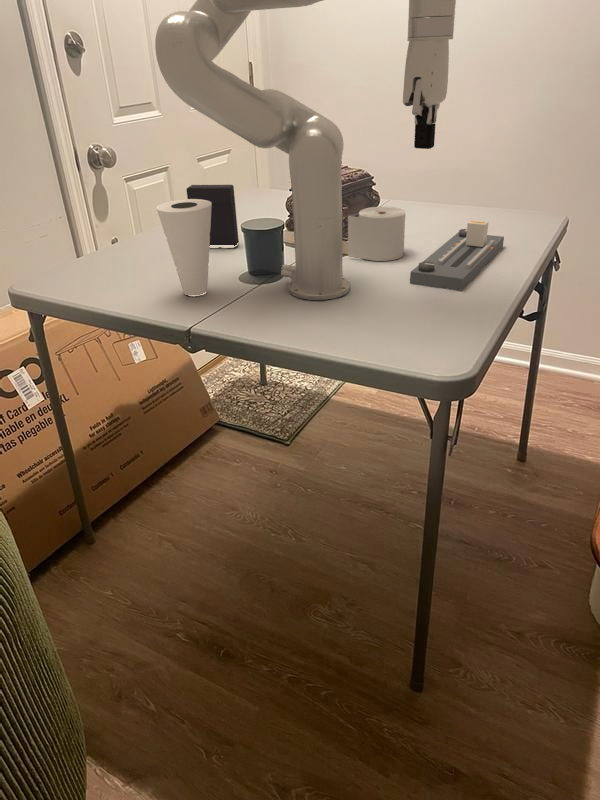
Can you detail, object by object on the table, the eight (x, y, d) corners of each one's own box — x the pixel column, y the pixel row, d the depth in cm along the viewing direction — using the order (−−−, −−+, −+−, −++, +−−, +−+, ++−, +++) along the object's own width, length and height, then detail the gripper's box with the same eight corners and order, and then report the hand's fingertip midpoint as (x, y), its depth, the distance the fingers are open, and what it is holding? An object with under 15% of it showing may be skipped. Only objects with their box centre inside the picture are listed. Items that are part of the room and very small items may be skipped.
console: (409, 283, 130) (410, 265, 128) (457, 242, 153) (459, 226, 151) (461, 290, 125) (463, 272, 123) (502, 247, 148) (504, 231, 146)
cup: (231, 291, 130) (222, 203, 121) (190, 306, 124) (177, 214, 114) (200, 280, 137) (189, 196, 127) (160, 294, 130) (145, 207, 121)
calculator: (239, 244, 159) (234, 183, 152) (235, 249, 156) (229, 187, 148) (199, 243, 161) (191, 184, 154) (193, 248, 158) (185, 187, 150)
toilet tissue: (412, 253, 147) (414, 210, 142) (383, 266, 140) (384, 221, 135) (376, 245, 154) (376, 204, 149) (345, 258, 146) (345, 215, 141)
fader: (465, 245, 142) (467, 222, 139) (468, 242, 143) (470, 219, 141) (482, 247, 140) (485, 224, 137) (486, 244, 142) (488, 221, 139)
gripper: (424, 30, 111) (419, 141, 120) (392, 32, 100) (388, 153, 109) (466, 28, 107) (457, 142, 116) (437, 30, 96) (429, 155, 105)
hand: (424, 147), depth 113 cm, fingers closed
